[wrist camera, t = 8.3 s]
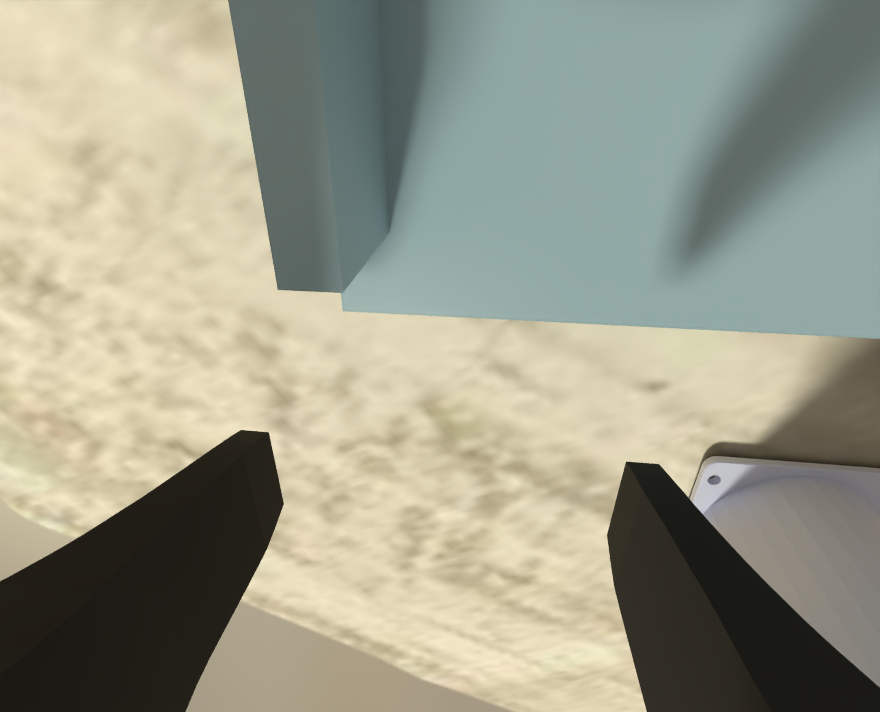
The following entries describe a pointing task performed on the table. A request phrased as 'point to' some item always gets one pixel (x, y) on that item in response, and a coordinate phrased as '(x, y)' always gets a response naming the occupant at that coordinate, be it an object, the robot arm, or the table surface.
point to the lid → (573, 158)
